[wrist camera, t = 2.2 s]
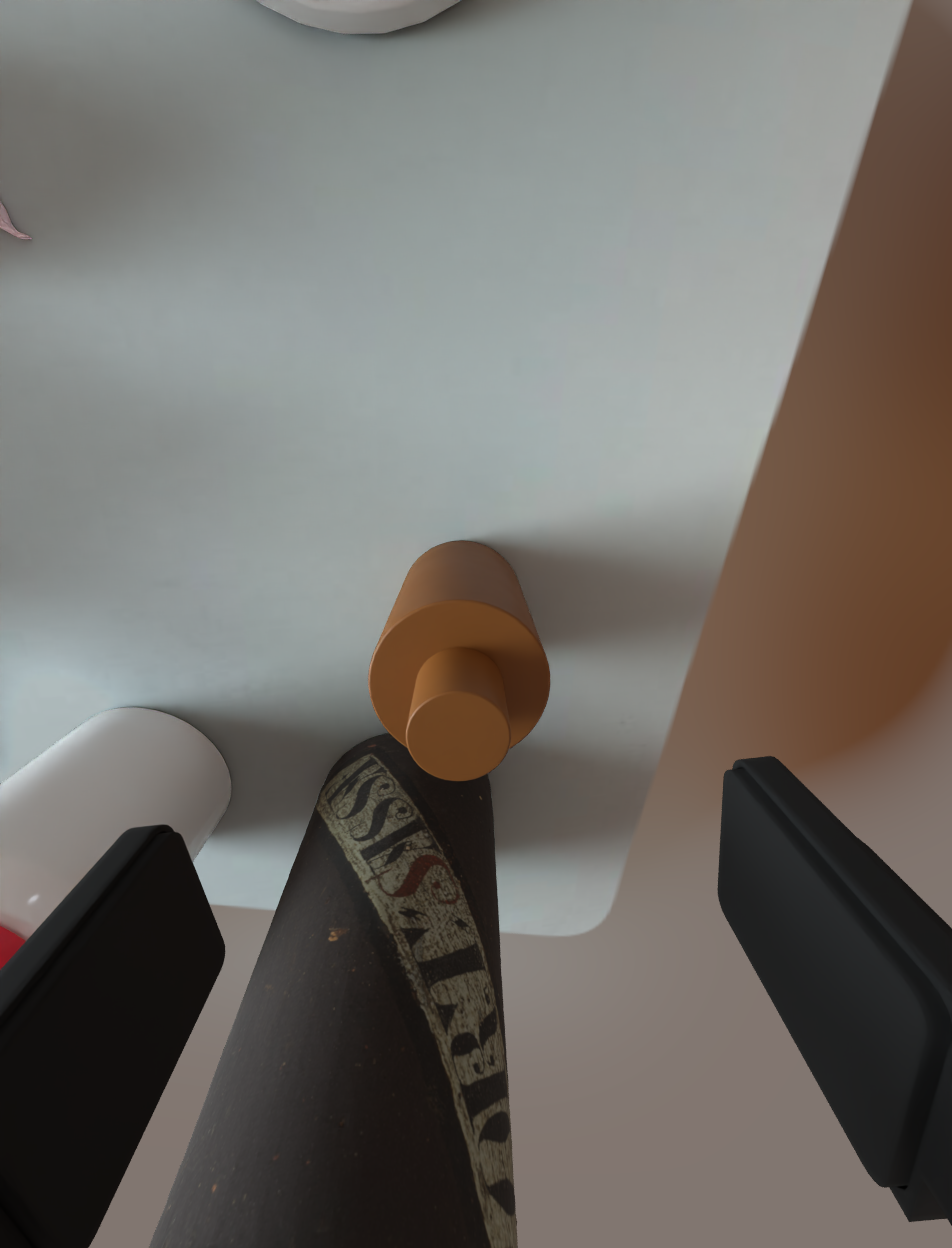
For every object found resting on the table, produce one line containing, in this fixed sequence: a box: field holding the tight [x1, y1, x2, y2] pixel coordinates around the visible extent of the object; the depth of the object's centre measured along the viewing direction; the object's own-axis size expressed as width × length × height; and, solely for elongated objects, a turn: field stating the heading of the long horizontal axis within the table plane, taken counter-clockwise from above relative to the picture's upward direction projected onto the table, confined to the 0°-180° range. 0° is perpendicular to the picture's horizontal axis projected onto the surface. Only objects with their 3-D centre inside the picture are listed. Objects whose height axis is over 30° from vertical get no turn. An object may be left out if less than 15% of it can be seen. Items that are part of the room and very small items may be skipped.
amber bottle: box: [368, 541, 550, 781], centre depth 16 cm, size 5×5×10 cm
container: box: [149, 733, 518, 1248], centre depth 15 cm, size 9×9×20 cm
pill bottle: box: [0, 707, 231, 970], centre depth 19 cm, size 8×8×11 cm
